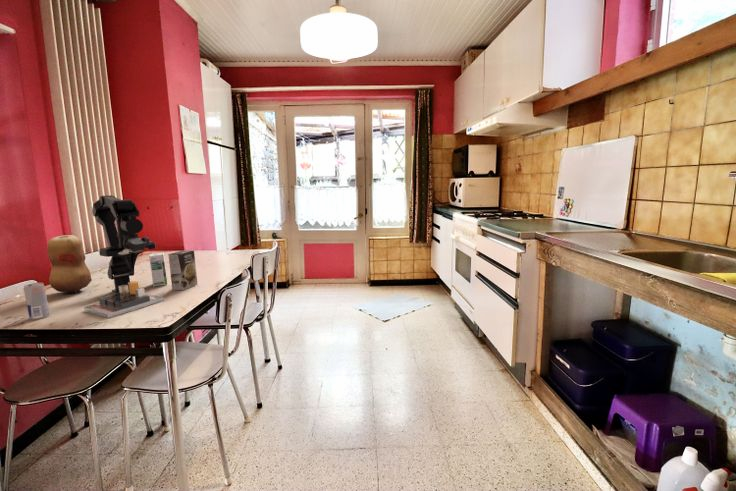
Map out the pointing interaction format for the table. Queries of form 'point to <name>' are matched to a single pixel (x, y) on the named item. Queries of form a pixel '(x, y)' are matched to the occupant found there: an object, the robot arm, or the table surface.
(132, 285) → the orange rectangular block
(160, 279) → the syrup box
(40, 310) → the white carton
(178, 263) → the coffee box
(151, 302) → the panel
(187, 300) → the table surface
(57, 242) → the butternut squash
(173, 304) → the table surface
